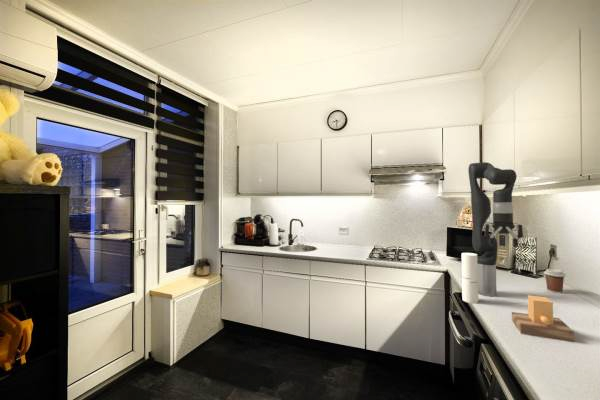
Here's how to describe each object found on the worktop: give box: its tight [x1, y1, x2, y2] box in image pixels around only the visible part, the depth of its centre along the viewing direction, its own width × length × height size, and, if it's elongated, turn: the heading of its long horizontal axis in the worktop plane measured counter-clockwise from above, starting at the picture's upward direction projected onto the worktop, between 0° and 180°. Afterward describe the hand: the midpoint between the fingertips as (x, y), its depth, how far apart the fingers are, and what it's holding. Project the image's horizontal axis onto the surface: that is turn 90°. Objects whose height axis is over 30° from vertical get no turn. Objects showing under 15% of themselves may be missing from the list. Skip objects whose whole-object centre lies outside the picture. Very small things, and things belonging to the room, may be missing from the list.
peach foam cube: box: [527, 294, 554, 325], centre depth 108 cm, size 9×6×9 cm, turn 155°
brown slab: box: [511, 311, 575, 342], centre depth 109 cm, size 12×16×10 cm
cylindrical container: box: [461, 252, 479, 304], centre depth 141 cm, size 7×7×25 cm
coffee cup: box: [543, 268, 566, 294], centre depth 152 cm, size 9×9×12 cm
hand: (503, 246), depth 124 cm, fingers open, 8 cm apart
